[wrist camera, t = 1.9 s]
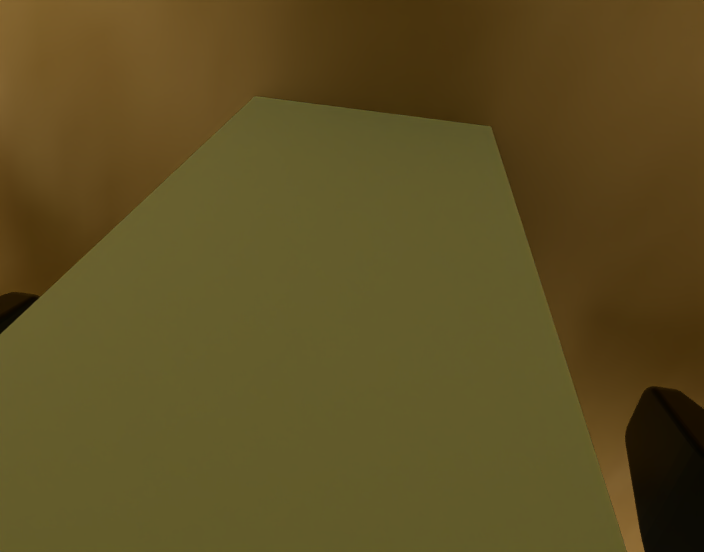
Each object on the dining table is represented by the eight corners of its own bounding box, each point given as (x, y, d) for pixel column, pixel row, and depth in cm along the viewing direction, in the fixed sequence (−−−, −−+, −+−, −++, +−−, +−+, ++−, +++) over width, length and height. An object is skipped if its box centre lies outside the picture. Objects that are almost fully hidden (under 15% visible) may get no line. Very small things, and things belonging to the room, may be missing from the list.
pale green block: (491, 126, 10) (732, 879, 2) (430, 396, 13) (434, 1099, 5) (254, 95, 10) (-360, 671, 2) (252, 368, 13) (-8, 1007, 5)
